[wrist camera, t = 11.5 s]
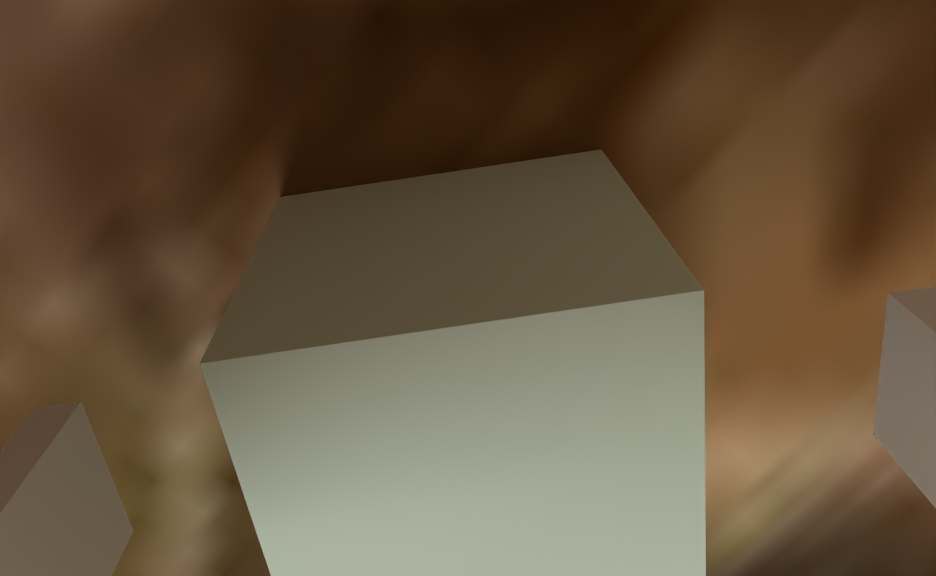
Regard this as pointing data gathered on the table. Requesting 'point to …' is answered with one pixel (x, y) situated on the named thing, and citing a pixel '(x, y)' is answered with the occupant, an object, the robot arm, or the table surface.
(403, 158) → the table surface
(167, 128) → the table surface
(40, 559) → the robot arm
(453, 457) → the sage cube
